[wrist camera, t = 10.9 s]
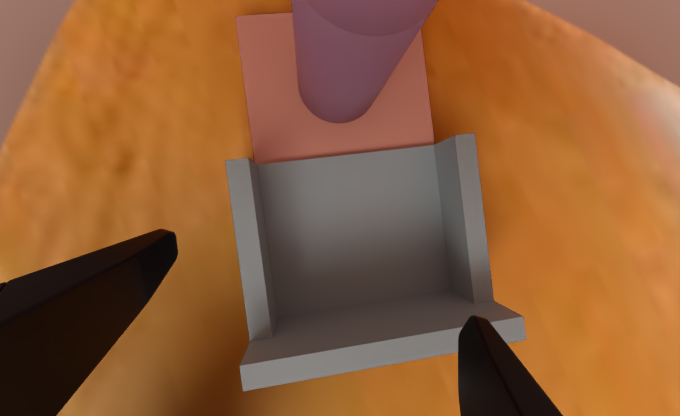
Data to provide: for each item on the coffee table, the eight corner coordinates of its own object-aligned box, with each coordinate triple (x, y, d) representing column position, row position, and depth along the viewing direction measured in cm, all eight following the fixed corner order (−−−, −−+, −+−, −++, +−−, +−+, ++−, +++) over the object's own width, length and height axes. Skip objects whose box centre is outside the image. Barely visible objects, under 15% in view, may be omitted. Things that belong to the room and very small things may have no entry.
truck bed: (264, 329, 21) (243, 391, 14) (224, 27, 21) (180, -62, 14) (459, 297, 22) (526, 339, 16) (425, 13, 22) (479, -75, 15)
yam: (326, 138, 20) (361, 16, 7) (282, 69, 20) (233, -191, 7) (391, 97, 21) (537, -90, 8) (349, 28, 20) (424, -290, 7)
